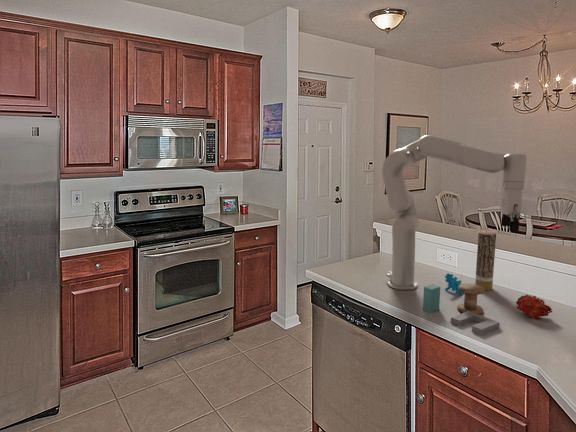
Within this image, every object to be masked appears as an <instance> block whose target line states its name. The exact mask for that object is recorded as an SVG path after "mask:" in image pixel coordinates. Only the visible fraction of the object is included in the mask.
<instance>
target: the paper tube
mask: <svg viewBox="0 0 576 432" xmlns="http://www.w3.org/2000/svg"><path fill="white" fill-rule="evenodd" d="M477 237H478V238H477V250H476V251H477V254H476V266H475V267H476V268H475V281H474V282H475V283H474V284H475V285H479V286H482V287H483V288H484V289H485V290H484V291H491V290H492V289H493V283H494V282H493V281H494V268H495V258H496V257H495V254H496V243H497V231H495V230H489V229H481V230H480V229H479V230H478V236H477Z"/></svg>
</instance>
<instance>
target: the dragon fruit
mask: <svg viewBox="0 0 576 432" xmlns="http://www.w3.org/2000/svg"><path fill="white" fill-rule="evenodd" d="M515 302H516V305H517V306H516V310H517V311H521V312H522V313H523V314H524V316H525V317H526V318H529V317H531V318H534V319H536V320H538V321H539V320H544V318H543V317H548V316H549V314H551V313H553V308H551V306H549V304H545V301H544V300H543V299H541V298H539V297H537V296H536V295H533V296H532V295H531V294H530V295H529V294H525V295H521V296H520V297H518V298H517V300H516V301H515Z"/></svg>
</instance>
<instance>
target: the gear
mask: <svg viewBox="0 0 576 432" xmlns="http://www.w3.org/2000/svg"><path fill="white" fill-rule="evenodd" d="M444 278H445V282H446V283H447V287H446V288H444V290H445V292H447V291H449V290H450V289H451V290H452V292H455V294H457V295H463V294H464V293H463V292H461V291H459V289H458V287H459V285H461V284H462V280H461V279H459V280H458V277H456V276H454V275H453V274H452V273H448V272H447V273H446V275H444Z"/></svg>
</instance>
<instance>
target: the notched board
mask: <svg viewBox="0 0 576 432" xmlns="http://www.w3.org/2000/svg"><path fill="white" fill-rule="evenodd" d="M471 322H475V324H473V325H472V326H471V332H473V333H475V334H477V335H481V336H482V335H485V334H487V333H490V332H492V331H496V330H498V329H499V328H500V322H499V321H497V320H494V319H491V318H488V317H486V316H483V315H482V314H481V315H478V314H476V313H473V312H470V311H468V312H465V313H460V314H456V315H453V316H451V318H450V323H451V324H453V325H456V326H458V327H461V326H463V325H466V324H469V323H471Z"/></svg>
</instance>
